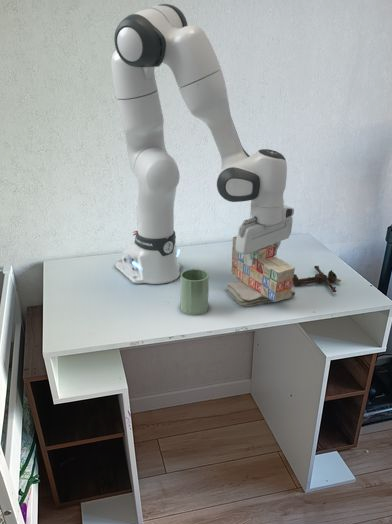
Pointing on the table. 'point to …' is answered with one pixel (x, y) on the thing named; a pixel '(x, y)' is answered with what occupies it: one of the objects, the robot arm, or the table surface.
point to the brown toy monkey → (318, 279)
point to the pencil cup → (194, 291)
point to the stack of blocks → (264, 273)
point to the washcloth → (248, 294)
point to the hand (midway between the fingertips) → (261, 260)
